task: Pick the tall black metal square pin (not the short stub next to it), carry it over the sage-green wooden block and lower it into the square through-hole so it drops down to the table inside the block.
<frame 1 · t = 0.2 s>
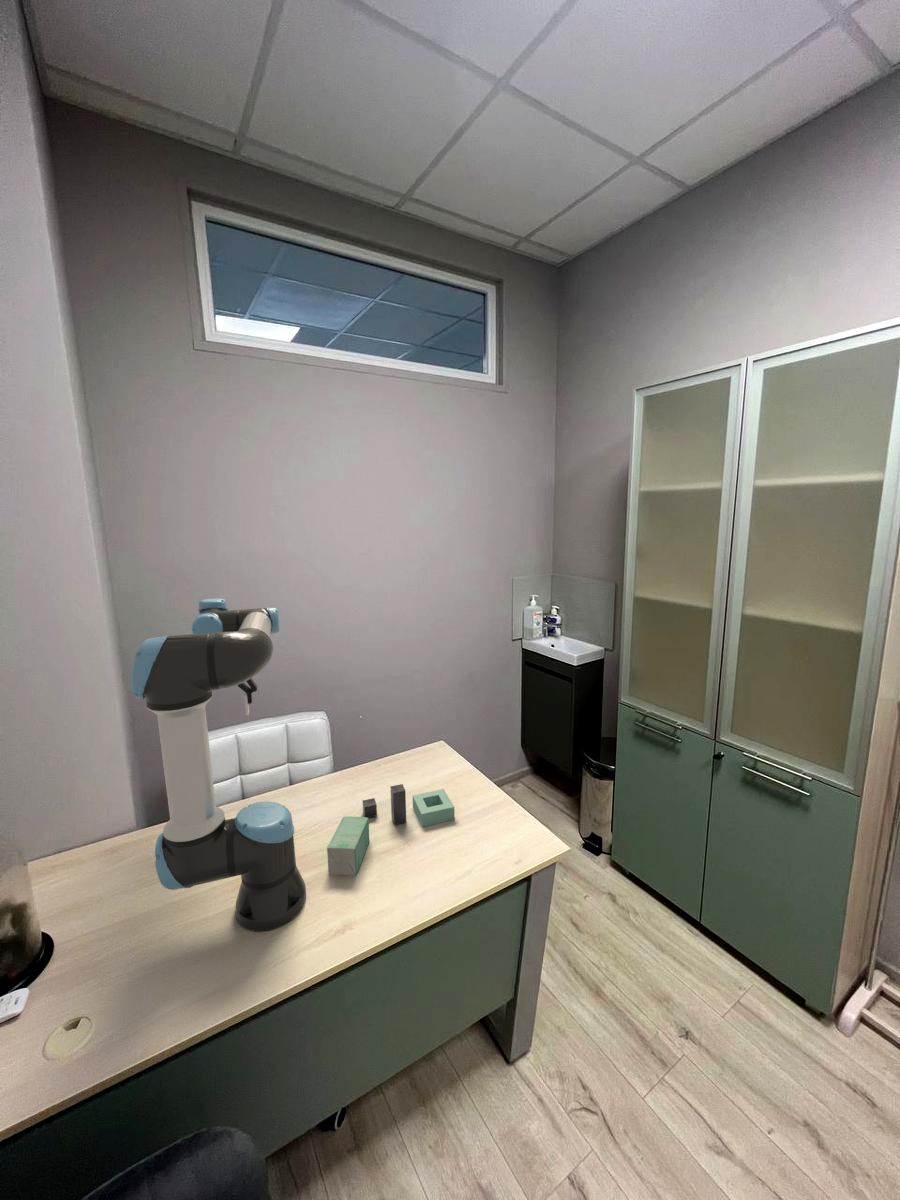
hand: (223, 716, 146), 28 cm above the table, fingers open, 13 cm apart
long pin: (399, 820, 139), on the table
hole block: (433, 813, 142), on the table
box: (350, 857, 125), on the table
short pin: (369, 814, 142), on the table
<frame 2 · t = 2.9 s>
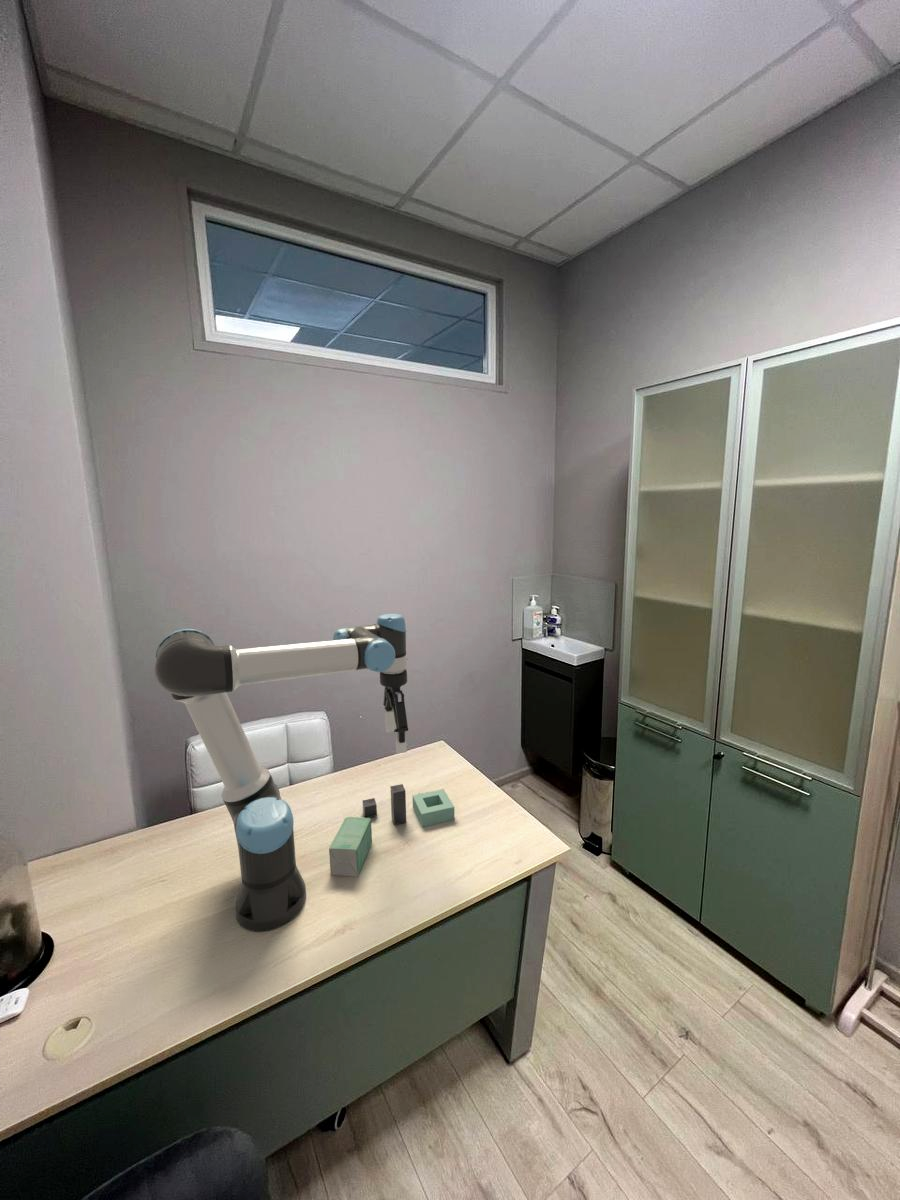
hand: (395, 741, 135), 25 cm above the table, fingers open, 13 cm apart
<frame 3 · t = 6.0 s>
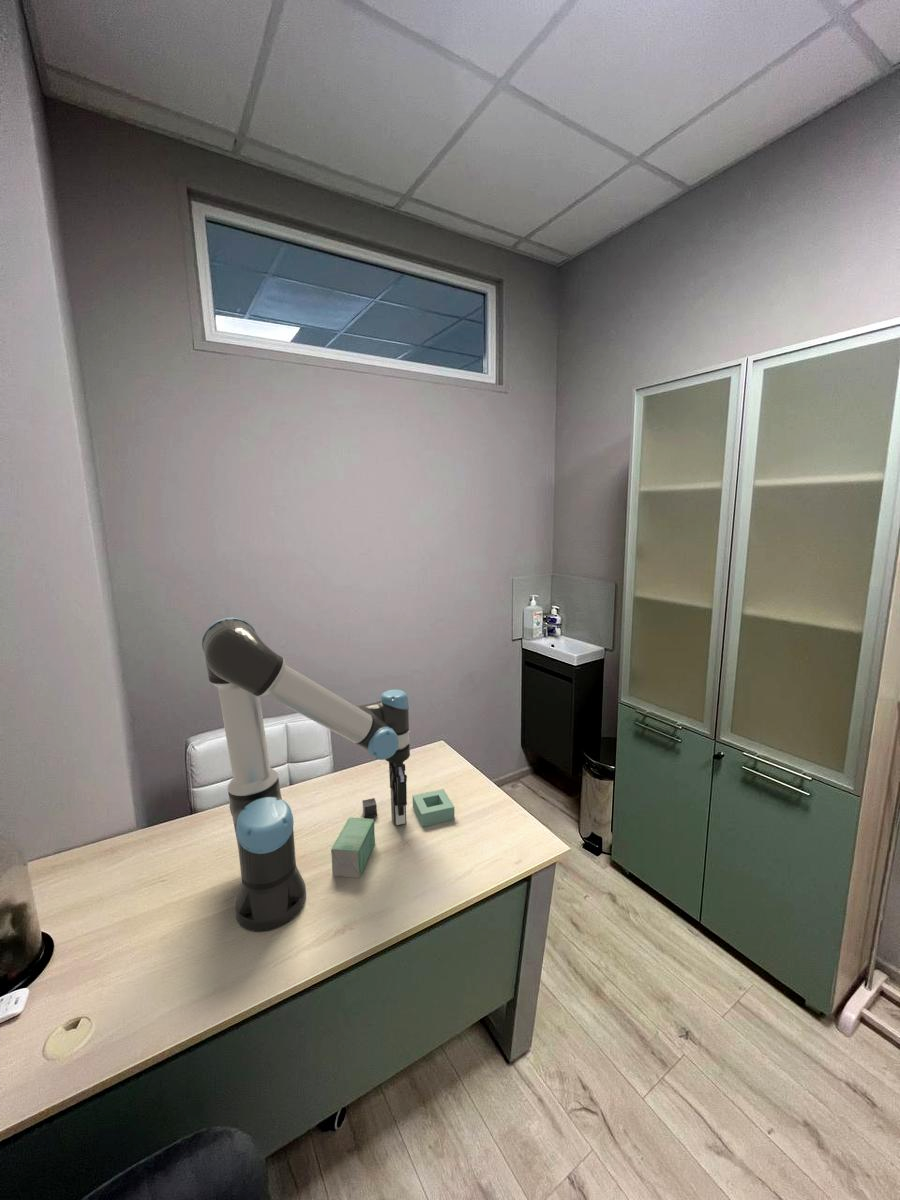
hand: (398, 818, 139), 1 cm above the table, fingers closed on long pin, 4 cm apart
long pin: (399, 820, 139), on the table, touching gripper
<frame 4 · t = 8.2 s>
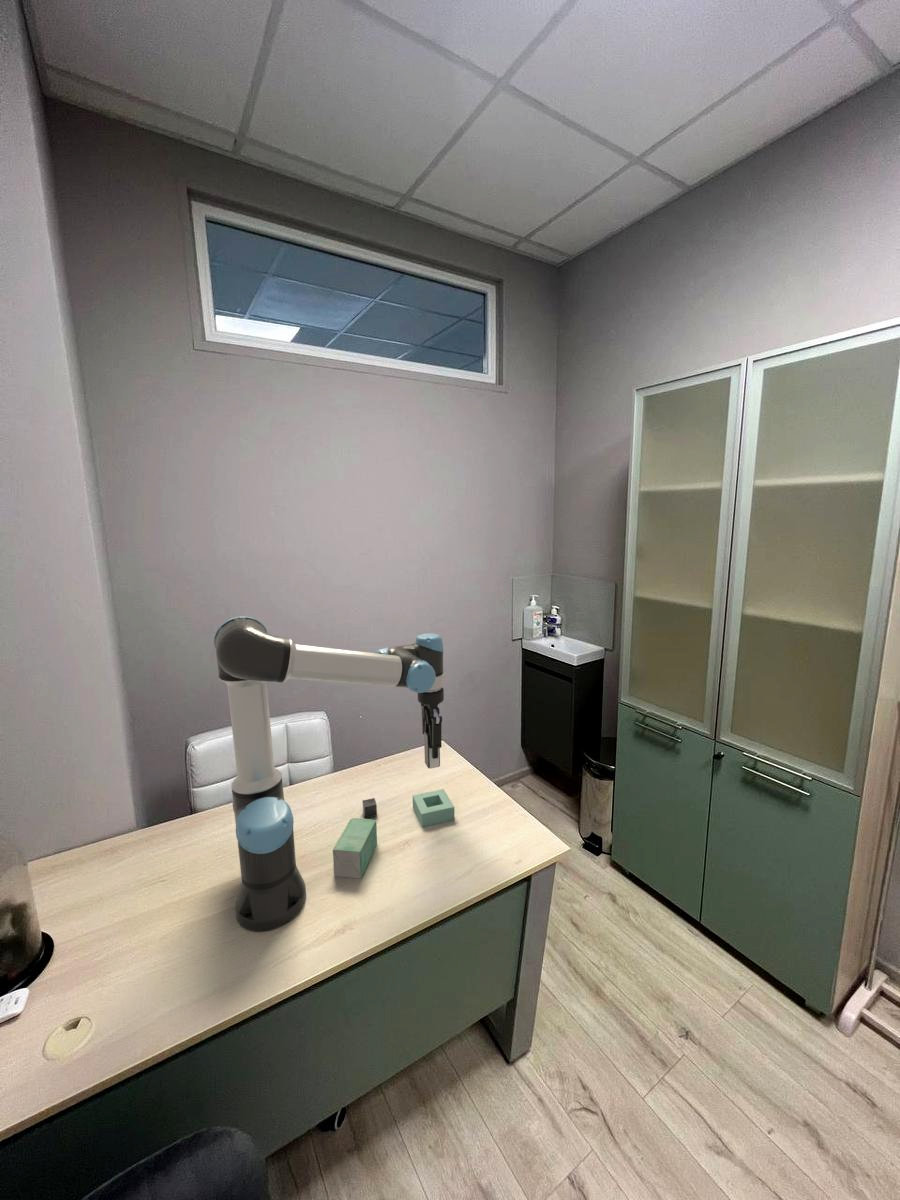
hand: (432, 763, 140), 16 cm above the table, fingers closed on long pin, 4 cm apart
long pin: (432, 765, 140), point 15 cm above the table, touching gripper
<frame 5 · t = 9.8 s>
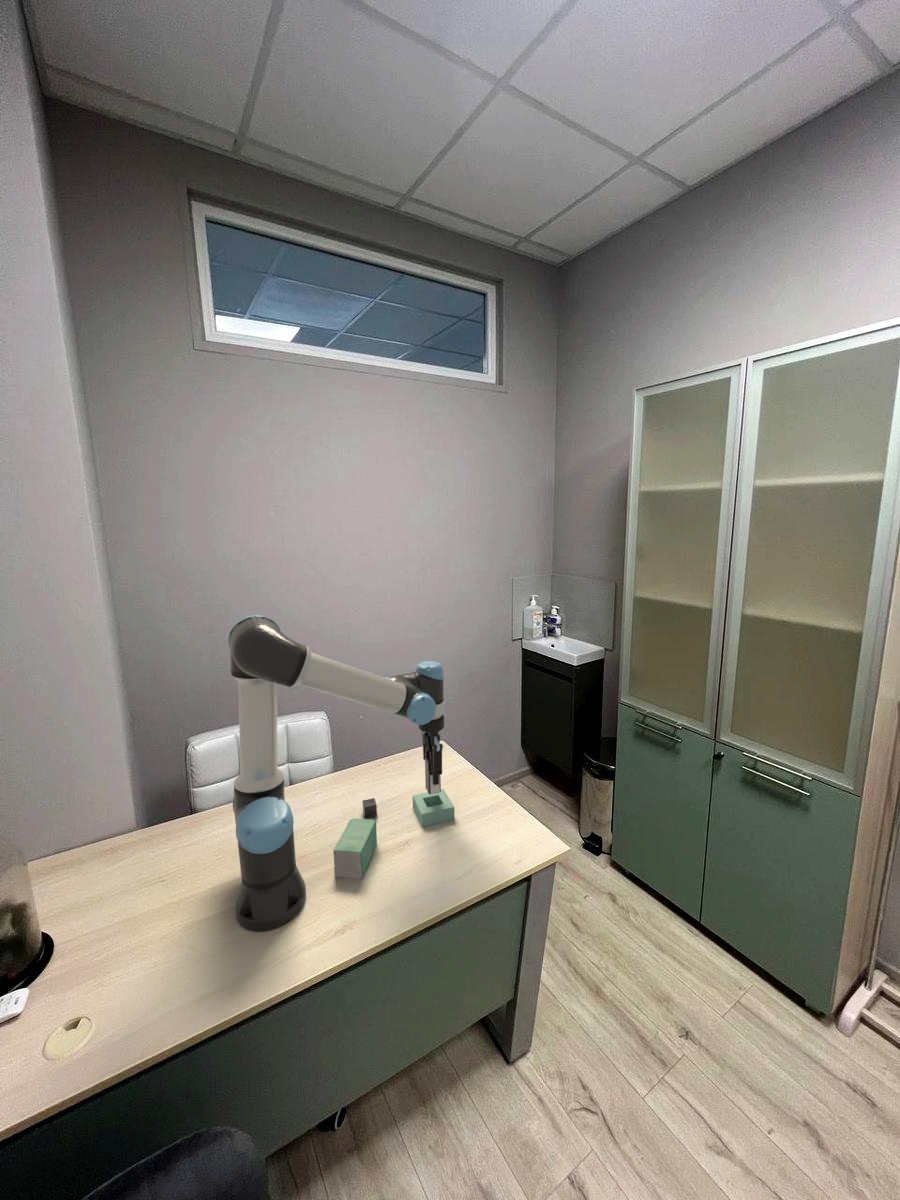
hand: (433, 789, 141), 8 cm above the table, fingers closed on long pin, 4 cm apart
long pin: (433, 790, 141), point 7 cm above the table, touching gripper
when the fingers open (5 cm above the table, at t = 10.7 s): long pin drops 5 cm, resting in hole block.
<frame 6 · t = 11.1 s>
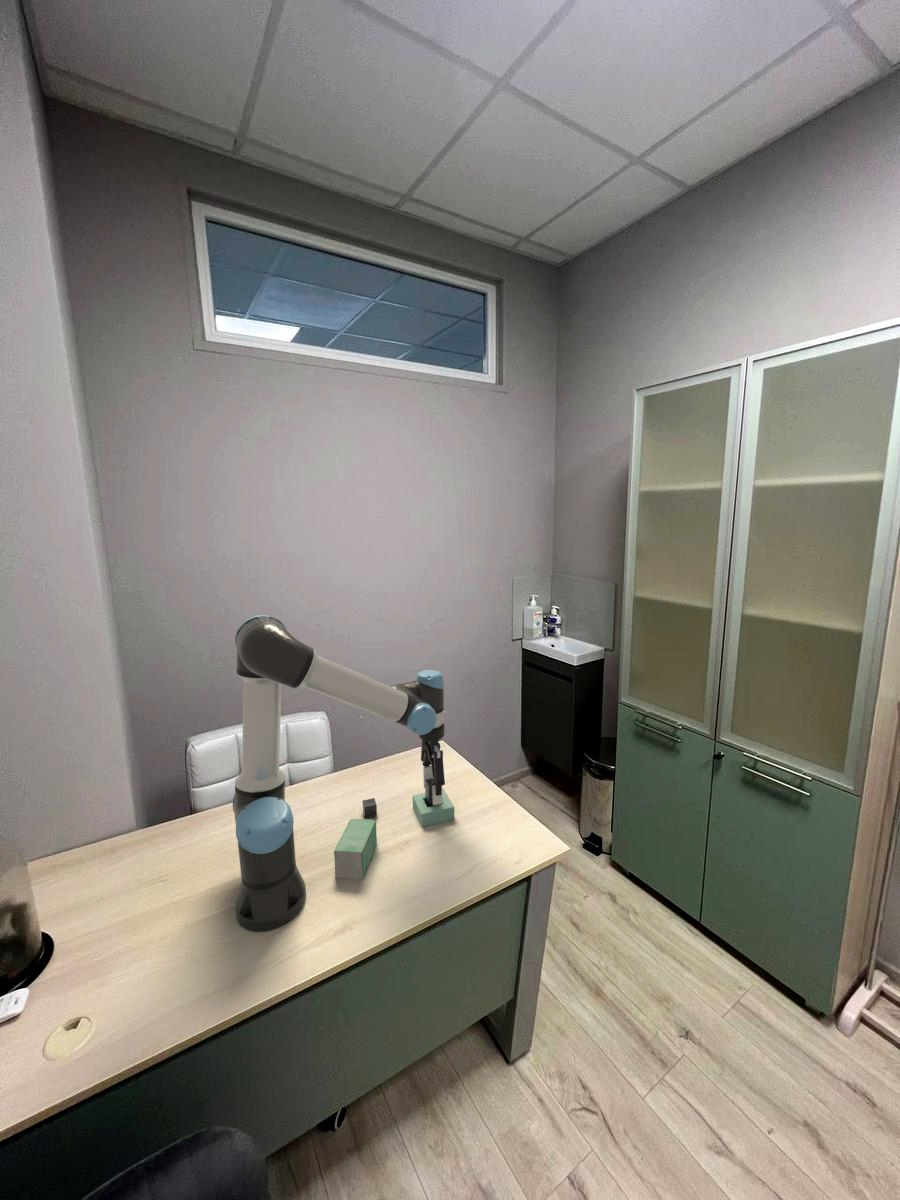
hand: (432, 794, 141), 6 cm above the table, fingers open, 9 cm apart
long pin: (433, 813, 142), resting in hole block
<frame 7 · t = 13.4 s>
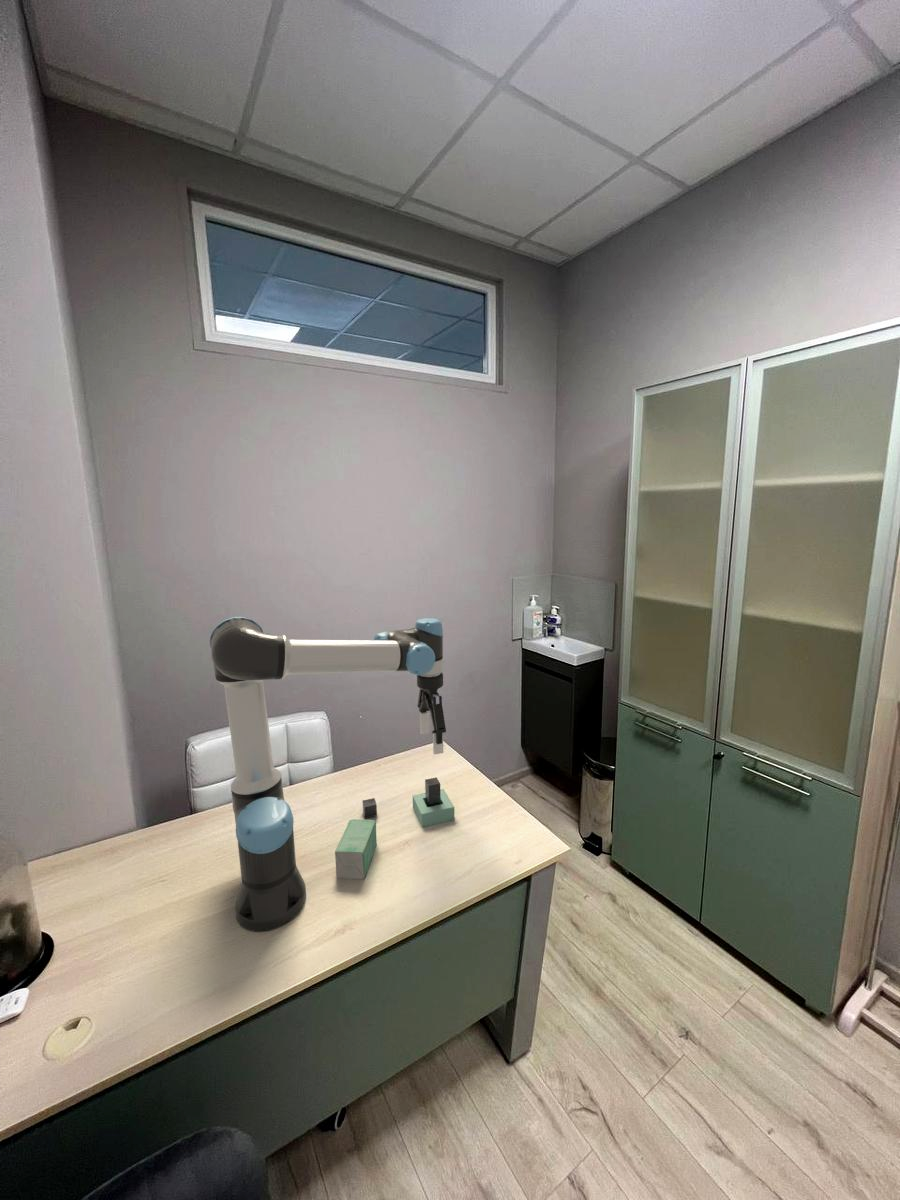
hand: (431, 742, 139), 23 cm above the table, fingers open, 13 cm apart
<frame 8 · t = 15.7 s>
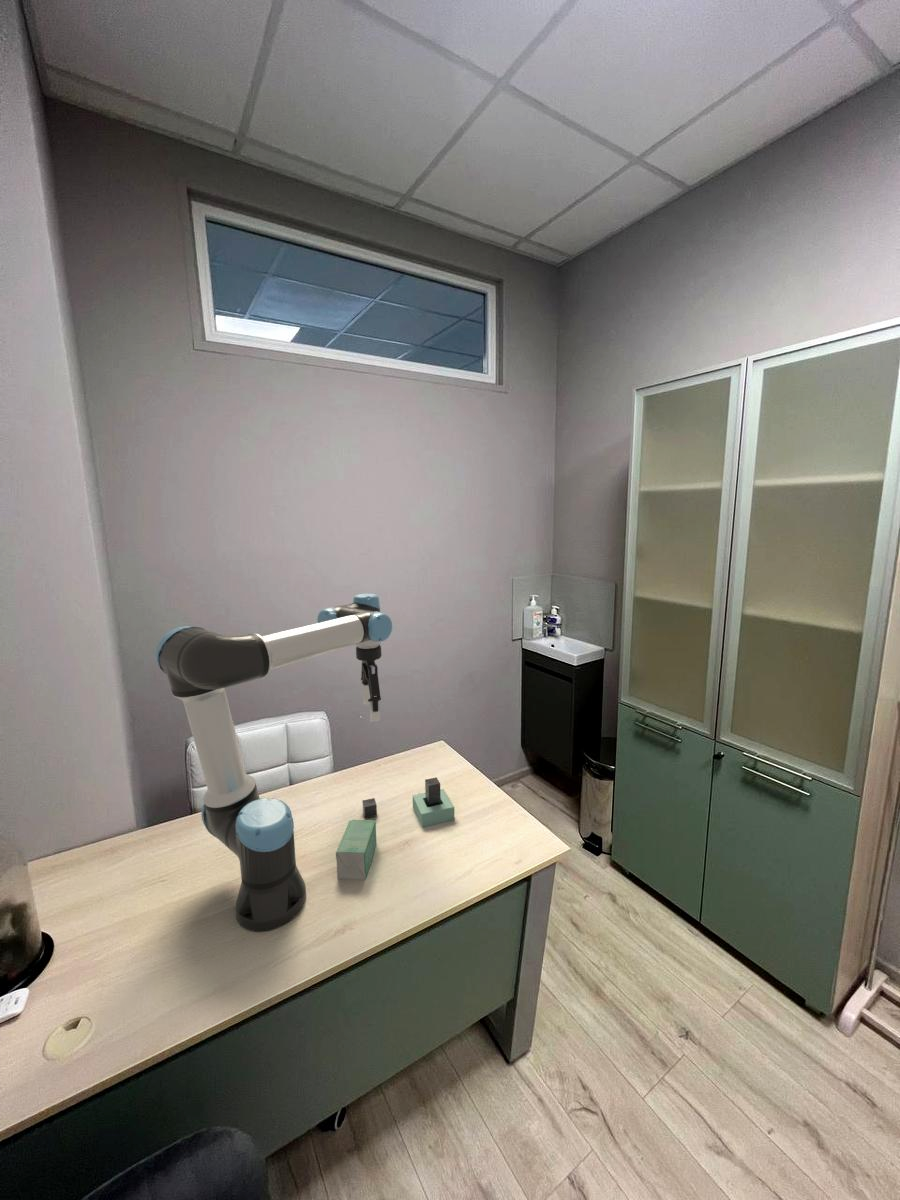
hand: (371, 712, 146), 29 cm above the table, fingers open, 13 cm apart
at the end: long pin 0.0 cm off-centre on the hole block, point 0.0 cm above the hole block's base; long pin tilted 0°; the gripper is holding nothing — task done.
